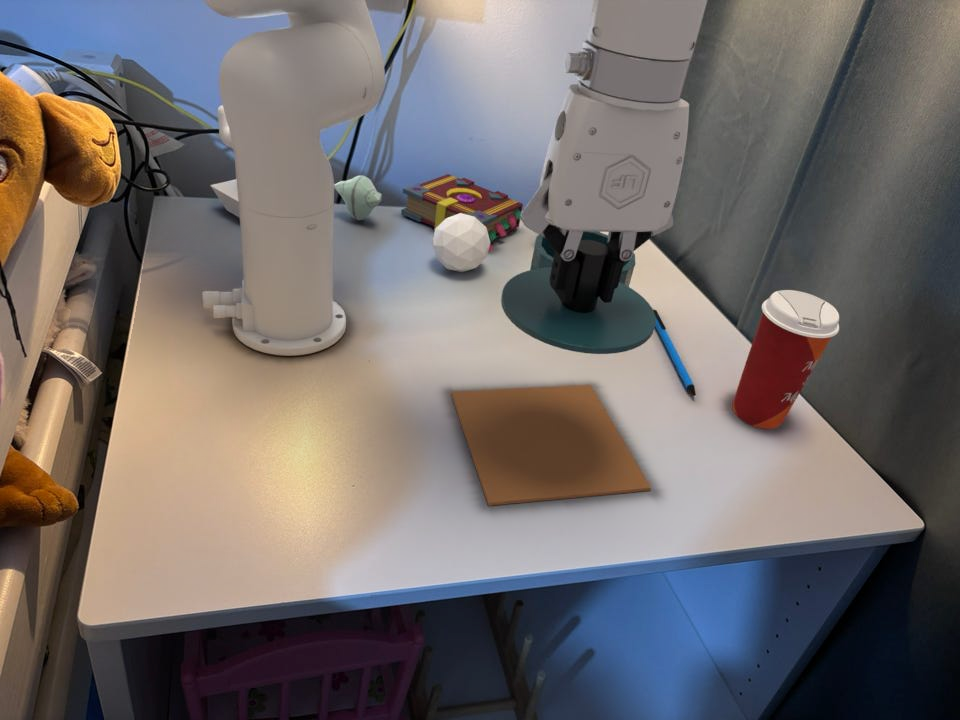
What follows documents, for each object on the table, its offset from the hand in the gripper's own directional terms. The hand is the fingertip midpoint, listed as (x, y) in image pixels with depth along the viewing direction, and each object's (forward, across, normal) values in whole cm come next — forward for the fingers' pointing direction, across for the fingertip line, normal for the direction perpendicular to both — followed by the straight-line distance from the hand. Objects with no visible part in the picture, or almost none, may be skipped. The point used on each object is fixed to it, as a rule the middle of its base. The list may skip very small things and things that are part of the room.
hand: (581, 293), depth 62 cm
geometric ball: (+17, -1, +36) cm, 40 cm away
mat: (+17, 0, 0) cm, 17 cm away
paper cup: (+17, +26, +2) cm, 31 cm away
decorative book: (+17, +3, +50) cm, 53 cm away
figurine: (+17, -29, +53) cm, 63 cm away
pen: (+17, +21, +14) cm, 30 cm away
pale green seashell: (+17, -13, +51) cm, 55 cm away
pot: (+17, +12, +25) cm, 33 cm away
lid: (+2, 0, 0) cm, 2 cm away
